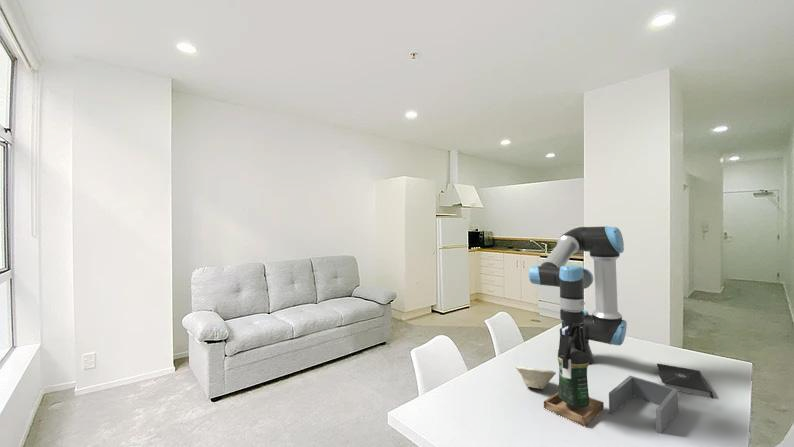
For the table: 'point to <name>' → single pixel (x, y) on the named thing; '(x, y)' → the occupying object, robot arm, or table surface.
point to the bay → (646, 398)
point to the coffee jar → (575, 381)
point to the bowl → (535, 376)
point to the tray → (574, 409)
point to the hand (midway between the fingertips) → (573, 373)
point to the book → (684, 380)
